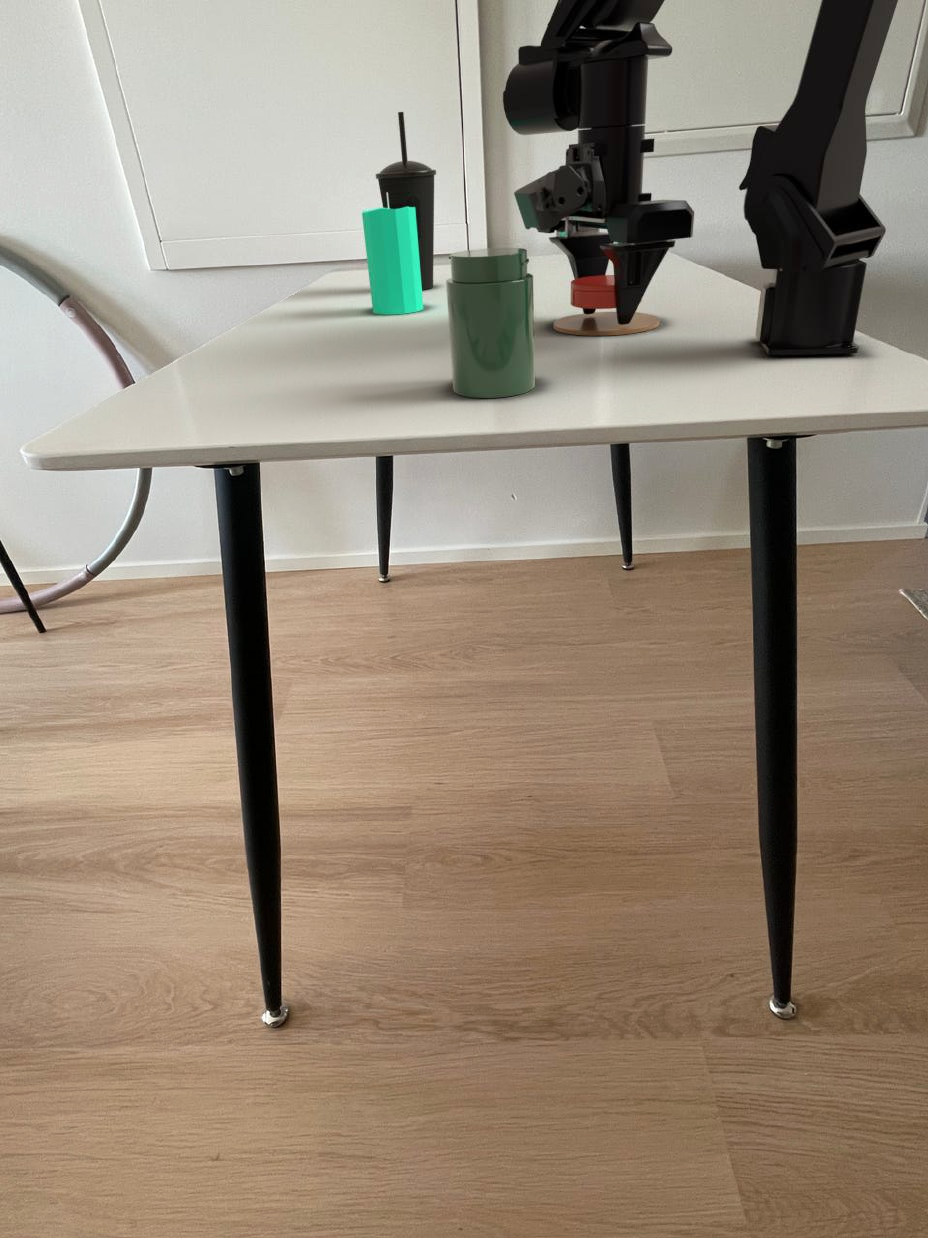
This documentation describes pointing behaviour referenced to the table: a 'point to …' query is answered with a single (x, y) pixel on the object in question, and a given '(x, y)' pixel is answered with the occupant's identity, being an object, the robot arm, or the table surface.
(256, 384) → the table surface
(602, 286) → the jam lid
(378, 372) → the table surface
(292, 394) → the table surface
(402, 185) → the drinking cup
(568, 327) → the coaster
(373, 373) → the table surface
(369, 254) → the candle
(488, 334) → the jam jar
